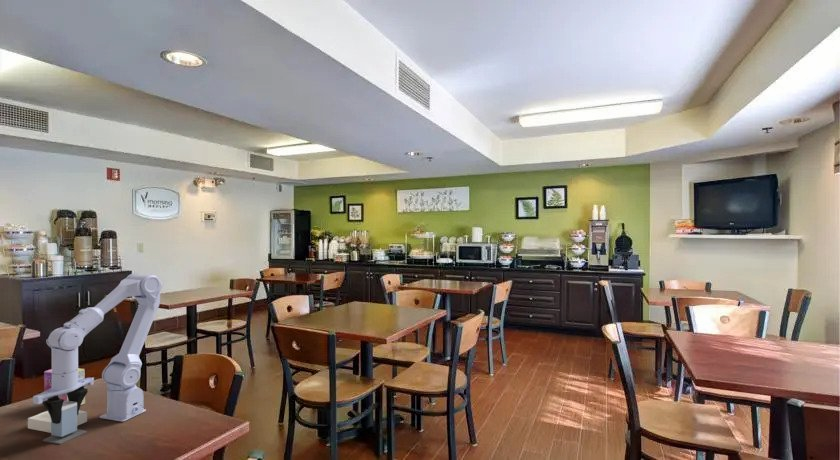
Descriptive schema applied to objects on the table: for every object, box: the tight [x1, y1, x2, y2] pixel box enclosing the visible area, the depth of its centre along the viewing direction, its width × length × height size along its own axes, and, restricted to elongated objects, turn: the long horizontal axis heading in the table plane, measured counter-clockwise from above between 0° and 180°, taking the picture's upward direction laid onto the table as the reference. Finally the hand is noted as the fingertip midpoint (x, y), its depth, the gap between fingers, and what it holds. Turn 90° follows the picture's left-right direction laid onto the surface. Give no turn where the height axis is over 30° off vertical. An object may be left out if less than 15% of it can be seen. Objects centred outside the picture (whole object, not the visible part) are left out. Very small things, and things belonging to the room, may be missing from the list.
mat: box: [42, 428, 88, 445], centre depth 119 cm, size 6×7×1 cm
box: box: [43, 367, 86, 406], centre depth 139 cm, size 10×6×12 cm, turn 73°
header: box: [27, 409, 88, 434], centre depth 125 cm, size 12×8×4 cm, turn 75°
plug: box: [50, 401, 78, 437], centre depth 119 cm, size 4×4×8 cm
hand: (65, 419), depth 119 cm, fingers closed on plug, 4 cm apart
